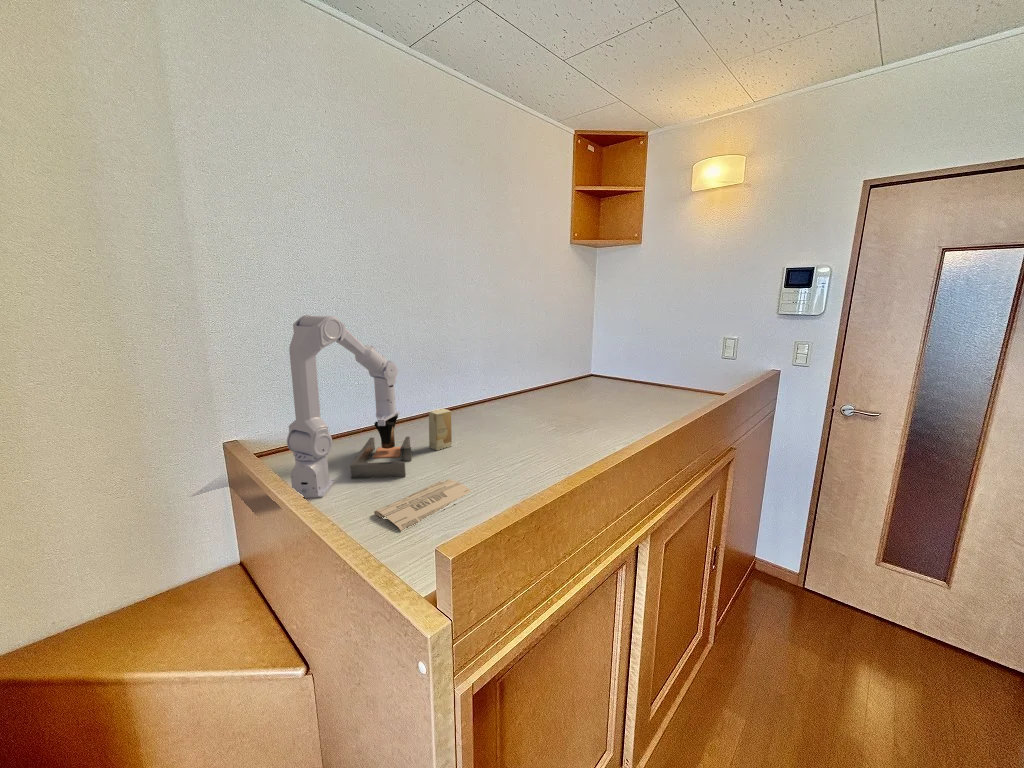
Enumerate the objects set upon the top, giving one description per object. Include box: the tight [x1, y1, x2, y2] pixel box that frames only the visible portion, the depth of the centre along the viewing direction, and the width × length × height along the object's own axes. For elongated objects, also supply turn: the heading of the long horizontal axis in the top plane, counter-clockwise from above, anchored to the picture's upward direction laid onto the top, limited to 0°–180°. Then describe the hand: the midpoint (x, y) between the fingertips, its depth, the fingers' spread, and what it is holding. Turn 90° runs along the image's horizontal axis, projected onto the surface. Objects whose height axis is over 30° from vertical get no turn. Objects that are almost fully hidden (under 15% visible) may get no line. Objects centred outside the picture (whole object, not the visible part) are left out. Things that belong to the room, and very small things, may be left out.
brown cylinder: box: [380, 427, 396, 449], centre depth 127 cm, size 4×4×6 cm
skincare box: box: [428, 408, 453, 451], centre depth 132 cm, size 6×4×12 cm
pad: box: [371, 446, 401, 459], centre depth 128 cm, size 8×8×1 cm
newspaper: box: [373, 478, 472, 532], centre depth 97 cm, size 23×12×2 cm, turn 139°
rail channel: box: [350, 436, 412, 480], centre depth 120 cm, size 22×14×4 cm, turn 5°
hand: (387, 441), depth 127 cm, fingers closed on brown cylinder, 4 cm apart
